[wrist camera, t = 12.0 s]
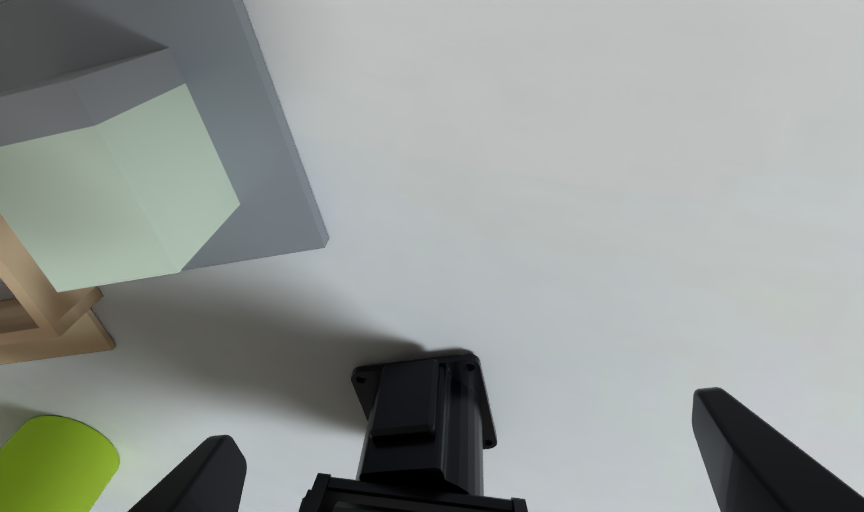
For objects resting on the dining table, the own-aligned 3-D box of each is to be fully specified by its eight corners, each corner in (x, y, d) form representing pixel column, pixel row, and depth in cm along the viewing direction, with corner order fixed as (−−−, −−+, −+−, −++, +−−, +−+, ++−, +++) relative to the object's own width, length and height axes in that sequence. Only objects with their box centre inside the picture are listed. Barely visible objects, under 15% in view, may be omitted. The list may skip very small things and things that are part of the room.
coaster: (329, 238, 22) (324, 247, 21) (126, 271, 23) (115, 280, 23) (222, -56, 16) (211, -56, 16) (-34, 15, 18) (-54, 17, 17)
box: (240, 204, 20) (178, 272, 16) (141, 222, 21) (57, 292, 17) (169, 47, 17) (70, 80, 13) (57, 75, 18) (-72, 114, 14)
